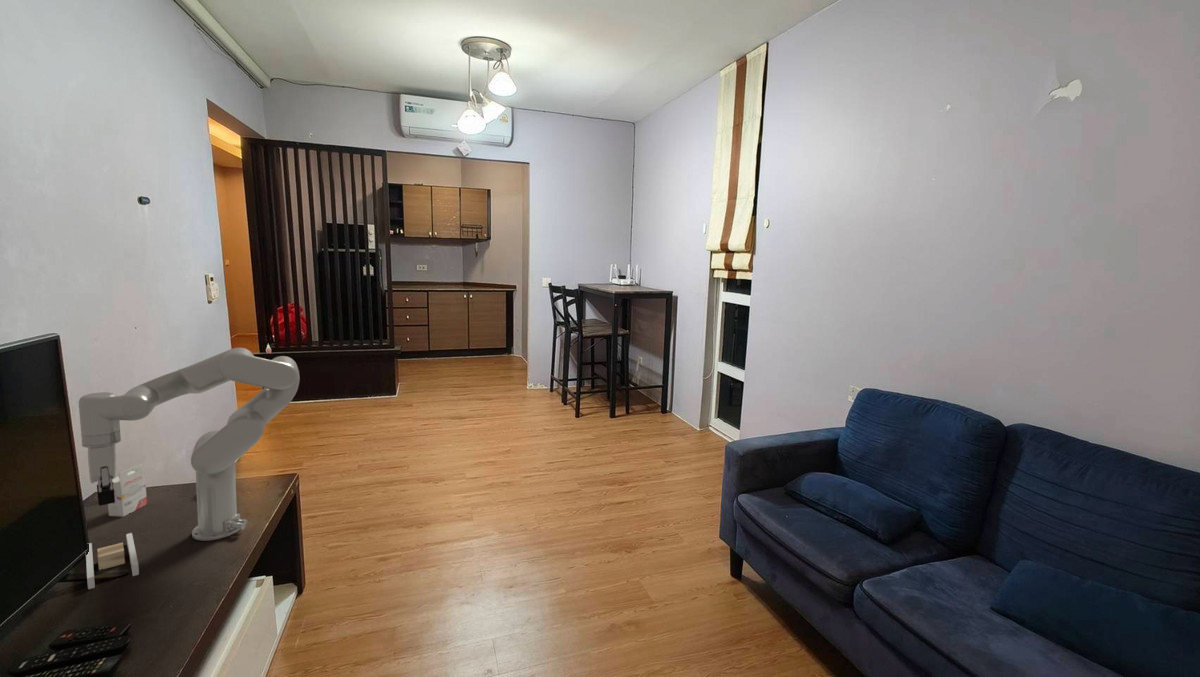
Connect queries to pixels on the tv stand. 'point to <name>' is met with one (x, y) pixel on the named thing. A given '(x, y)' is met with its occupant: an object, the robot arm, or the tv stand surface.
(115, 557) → the maple block
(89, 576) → the frosted channel
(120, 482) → the ink cartridge box
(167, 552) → the tv stand surface
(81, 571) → the tv stand surface
